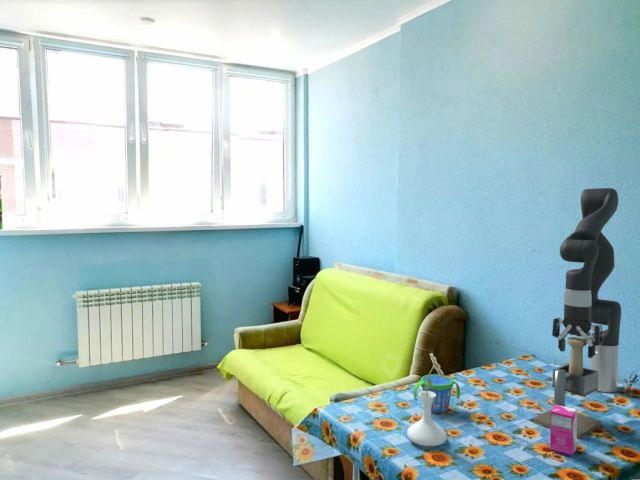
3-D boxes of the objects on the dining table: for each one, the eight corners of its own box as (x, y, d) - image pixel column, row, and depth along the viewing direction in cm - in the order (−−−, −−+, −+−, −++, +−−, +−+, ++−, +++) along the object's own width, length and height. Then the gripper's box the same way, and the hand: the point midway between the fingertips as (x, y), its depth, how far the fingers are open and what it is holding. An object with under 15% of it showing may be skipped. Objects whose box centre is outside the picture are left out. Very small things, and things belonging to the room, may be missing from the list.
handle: (589, 386, 149) (591, 340, 148) (575, 390, 146) (577, 342, 145) (575, 381, 154) (577, 336, 152) (561, 384, 151) (563, 338, 150)
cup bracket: (559, 408, 159) (560, 356, 158) (604, 423, 148) (606, 366, 147) (533, 422, 149) (534, 366, 148) (579, 439, 138) (581, 378, 137)
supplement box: (554, 442, 136) (555, 403, 135) (577, 449, 132) (578, 409, 131) (548, 450, 131) (550, 410, 131) (572, 457, 128) (573, 416, 127)
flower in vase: (439, 454, 129) (441, 364, 128) (400, 443, 135) (401, 357, 134) (453, 435, 140) (455, 352, 139) (417, 426, 147) (417, 346, 145)
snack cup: (416, 415, 154) (416, 385, 153) (410, 402, 164) (410, 374, 164) (464, 416, 154) (465, 385, 153) (455, 402, 164) (456, 374, 164)
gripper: (607, 305, 145) (605, 357, 146) (560, 298, 156) (559, 346, 157) (596, 308, 140) (594, 362, 141) (549, 301, 152) (547, 351, 153)
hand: (576, 354), depth 149 cm, fingers open, 8 cm apart
